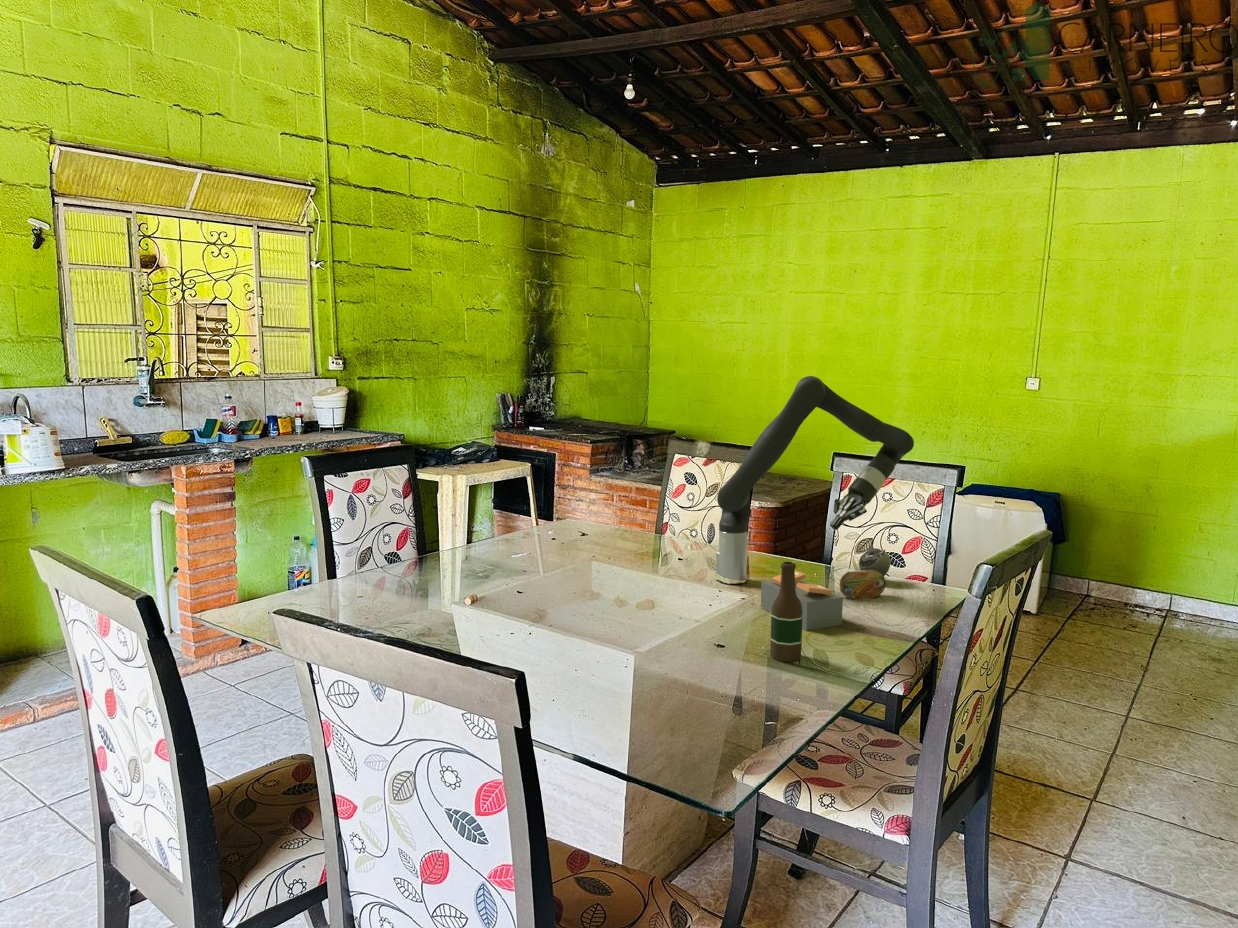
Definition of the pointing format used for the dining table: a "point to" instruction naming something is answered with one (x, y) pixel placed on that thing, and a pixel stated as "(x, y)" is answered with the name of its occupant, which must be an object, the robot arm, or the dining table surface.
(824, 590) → the orange flat board
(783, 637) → the beer bottle
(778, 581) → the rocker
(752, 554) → the dining table surface
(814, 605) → the switch box
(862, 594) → the tin
